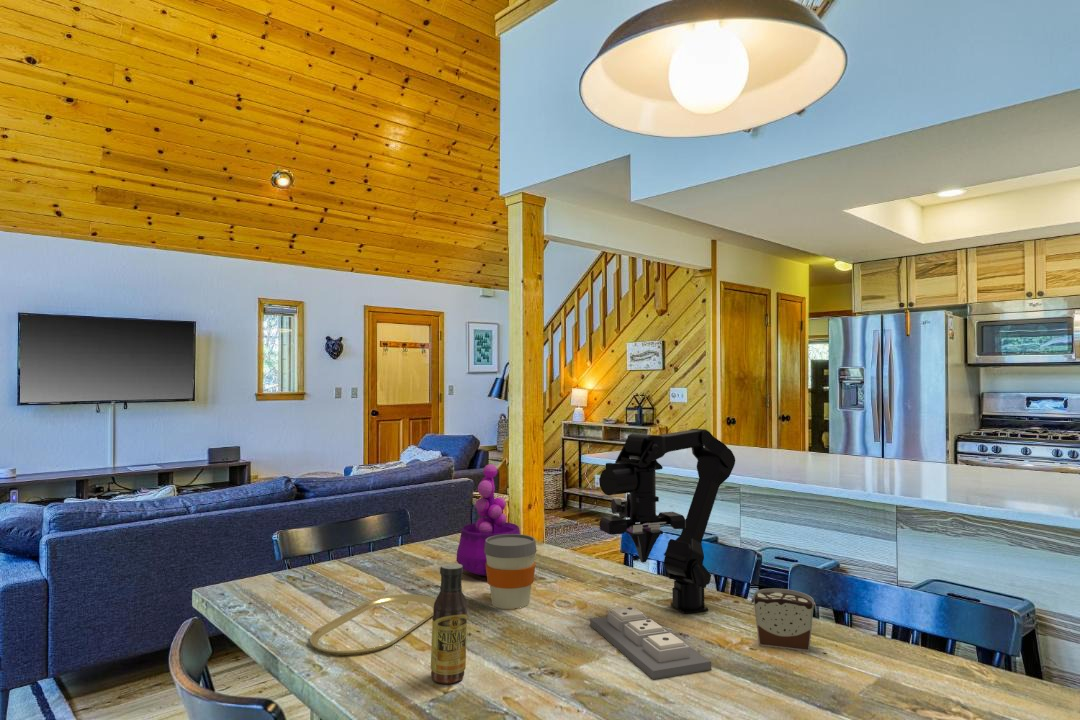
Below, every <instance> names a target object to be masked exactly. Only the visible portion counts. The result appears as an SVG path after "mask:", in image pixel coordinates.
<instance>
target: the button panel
mask: <svg viewBox="0 0 1080 720" xmlns="http://www.w3.org/2000/svg"><path fill="white" fill-rule="evenodd" d="M647 619H650V618H649V616H647V615H645V614H644V618H639V619H631V620H624V621H621V620H620V619H618V618H617V617H616V616H614V615H613V614H612V610H609V611H607V612H606V615H605V616H598V617H596V616H595V617H590V618H589V625H591V626H590V627H592V629H594V630H595V629H596V630H597V631H598V632H597V631H596V630H595V631H596V632H597V633H599V635H601V634H602V635H601V636H602V637H603V636H604V637H605V638H604V637H603V638H604V639H606V640H607V641H608V642H609V641H610V642H611V643H612V644H613V645H612V644H611V643H610V642H609V643H610V644H611V645H612V646H614V647H615V648H616V649H617V650H618V649H619V650H620V651H619V650H618V651H619V652H621V654H623V655H624V656H625V657H626V656H627V657H626V658H628V659H629V660H630V661H631V662H632V663H633V664H634V665H636V666H637V667H638V668H639V669H640V670H641V671H643V672H644V673H645V674H646V675H647V676H648V677H649V678H651V679H652V680H658V679H660V680H661V679H665V678H670V677H675V676H676V675H677V676H683V675H687V674H693V673H694V672H695V673H699V672H705V671H711V670H712V661H711V659H708V658H707V657H706V656H704V655H703V654H701V653H700V652H699V651H697V650H695V649H694V648H693V647H691V646H690V645H688V643H685V642H684V647H678V648H671V649H665V650H659V649H658V648H656V647H655V646H654V645H652V644H651V643H650V642H649V641H648V636H652V635H659V634H666V633H671V632H669V631H668V630H667V629H666V628H664V627H663V631H662V632H655V633H648V634H641V635H639V634H638V633H637V632H635V631H634V630H633V629H631V628H630V627H629V622H632V621H639V620H647ZM681 674H682V675H681Z"/></svg>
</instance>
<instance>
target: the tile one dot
mask: <svg viewBox="0 0 1080 720" xmlns="http://www.w3.org/2000/svg"><path fill="white" fill-rule="evenodd" d="M648 641H649V642H650V643H651V644H652V645H654V646H655V647H656V648H658V649H659V650H665V649H671V648H678V647H684V643H685V641H684V640H682V639H680V638H679V637H677V636H676V635H674V634H673V633H672V632H670V633H666V634H659V635H652V636H648Z"/></svg>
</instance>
